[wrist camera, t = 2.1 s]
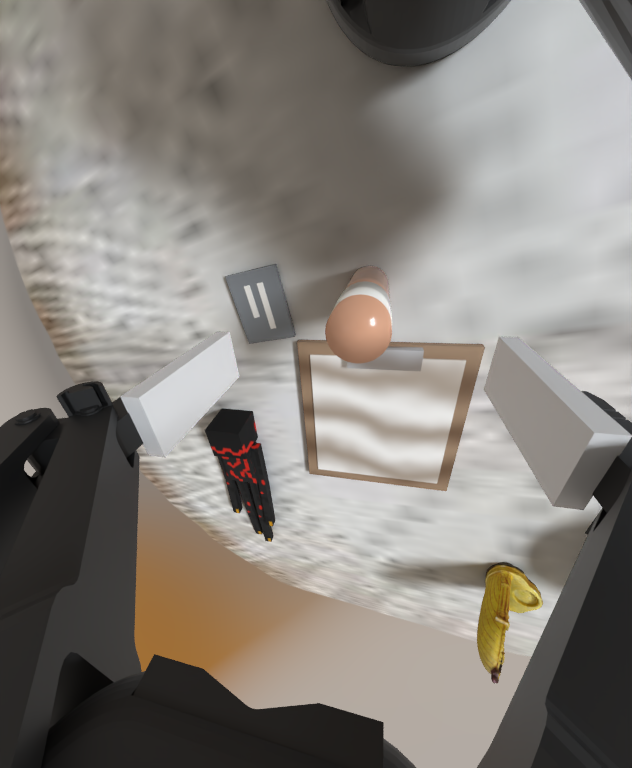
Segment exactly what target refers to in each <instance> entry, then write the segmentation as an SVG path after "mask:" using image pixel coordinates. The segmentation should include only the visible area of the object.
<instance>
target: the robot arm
mask: <svg viewBox="0 0 632 768" xmlns="http://www.w3.org/2000/svg"><path fill="white" fill-rule="evenodd" d="M510 1H511V0H327V2H328V5H329V7H330V9H331V11H332V14H333V15H334V17H335V19H336V21H337V23H338V24H339V26H340V27H341V29H342V30H343V32H344V33H345V34H346V36H347V37H348V38H349V39H350V40H351V41H352V43H353V44H354V45H355V46H357V47H358V48H359V49H360V50H361V51H363V52H364V53H365V54H367V55H368V56H370V57H372V58H374V59H376V60H378V61H380V62H383V63H386V64H390V65H395V66H416V65H422V64H426V63H430V62H433V61H436V60H438V59H441V58H443V57H445V56H447V55H449V54H451V53H453V52H455V51H456V50H458V49H460V48H461V47H463V46H464V45H466V44H467V43H468V42H470V41H471V40H472V39H474V38H475V37H476V36H477V35H479V34H480V33H481V32H482V31H483V30H484V29H485V28H486V27H487V26H489V24H490V23H491V22H492V21H493V20H494V19H495V18H496V17H497V16H498V15H499V14H500V13H501V12H502V11H503V9H504V8H505V7H506V6H507V5H508V4H509V2H510ZM579 1H580V3H581V4H582V6H583V7H584V9H585V10H586V12H587V13H588V15H589V16H590V18H591V19H592V21H593V22H594V24H595V25H596V27H597V28H598V30H599V31H600V33H601V34H602V36H603V37H604V39H605V40H606V42H607V43H608V45H609V46H610V48H611V49H612V51H613V52H614V54H615V56H616V57H617V59H618V60H619V62H620V63H621V65H622V66H623V68H624V69H625V71H626V72H627V74H628V75H629V77H630V78H631V80H632V0H579ZM239 377H240V376H239V372H238V367H237V363H236V358H235V354H234V349H233V345H232V340H231V336H230V332H216V333H214V334H213V335H211V336H210V337H208V338H207V339H205V340H204V341H202V342H201V343H199V344H198V345H196V346H195V347H193V348H192V349H190V350H189V351H187V352H186V353H184V354H183V355H181V356H180V357H178V358H177V359H175V360H174V361H172V362H171V363H169V364H168V365H166V366H165V367H163V368H162V369H160V370H159V371H157V372H156V373H155V374H153V375H152V376H150V377H149V378H147V379H146V380H144V381H143V382H141V383H140V384H138V385H137V386H135V387H134V388H132V389H131V390H129V391H128V392H126V393H125V394H123V395H122V396H120V398H118V399H117V400H115V401H114V402H111V400H110V398H109V396H108V394H107V392H106V390H105V388H104V386H103V384H102V383H101V382H87V383H82V384H78V385H75V386H73V387H70V388H68V389H66V390H64V391H63V392H61V393H59V394H58V395H57V398H58V400H59V402H60V403H61V405H62V407H63V408H64V410H65V411H66V413H67V415H68V416H69V417H68V418H62V419H57V418H56V416H55V415H54V414H53V412H52V410H51V409H49V408H39V409H34V410H32V409H31V410H28V411H26V412H22V413H20V414H18V415H17V416H15V417H13V418H12V419H10V420H8V421H7V422H6V423H4V424H3V425H2V426H1V427H0V768H416V767H415V766H414V765H413V764H412V763H411V762H410V761H409V760H408V759H407V758H406V757H405V756H404V755H403V754H402V753H401V752H400V751H399V750H398V749H397V748H395V747H394V746H393V745H391V744H390V743H389V742H387V741H386V740H385V739H384V738H383V722H381V721H377V720H374V719H371V718H367V717H363V716H360V715H357V714H354V713H350V712H347V711H344V710H340V709H337V708H333V707H330V706H326V705H323V704H320V703H317V704H308V705H297V706H287V707H278V708H267V709H252V708H250V707H248V706H247V705H245V704H244V703H243V702H242V701H241V700H239V699H238V698H237V697H236V696H235V695H233V694H232V693H231V692H230V691H229V690H228V689H226V688H225V687H224V686H223V685H222V684H220V683H219V682H218V681H217V680H216V679H214V678H213V677H212V676H211V675H209V673H207V672H206V671H205V670H204V669H202V668H199V667H195V666H191V665H188V664H185V663H182V662H178V661H175V660H172V659H168V658H165V657H162V656H158V655H154V656H153V658H152V660H151V662H150V663H149V666H148V667H147V669H146V671H144V672H141V665H140V661H139V658H138V655H137V651H136V648H135V642H134V625H135V624H134V623H135V590H136V556H137V553H136V552H137V523H138V488H139V455H138V453H137V451H136V450H137V449H138V448H139V447H140V446H141V445H142V444H143V445H144V447H145V449H146V451H147V453H148V455H150V456H158V457H166V456H167V455H168V454H169V453H170V452H171V451H172V449H173V448H174V447H175V446H176V445H177V444H178V443H179V442H180V441H181V440H182V439H183V437H184V436H185V435H186V434H187V433H188V432H189V431H190V430H191V429H192V428H193V427H194V426H195V424H196V423H197V422H198V421H199V420H200V419H201V418H202V417H203V416H204V415H205V414H206V412H207V411H208V410H209V409H210V408H211V407H212V406H213V405H214V404H215V403H216V402H217V401H218V399H219V398H220V397H221V396H222V395H223V394H224V393H225V392H226V391H227V390H228V389H229V387H230V386H231V385H232V384H233V383H234V382H235V381H236V380H237V379H238V378H239ZM484 391H485V392H486V394H487V396H488V397H489V399H490V401H491V403H492V404H493V406H494V408H495V409H496V411H497V413H498V414H499V416H500V418H501V419H502V421H503V423H504V424H505V426H506V428H507V430H508V431H509V433H510V435H511V436H512V438H513V440H514V441H515V443H516V445H517V446H518V448H519V450H520V451H521V453H522V455H523V457H524V458H525V460H526V462H527V463H528V465H529V467H530V468H531V470H532V472H533V473H534V475H535V477H536V479H537V480H538V482H539V484H540V485H541V487H542V489H543V490H544V492H545V494H546V495H547V497H548V499H549V500H550V502H551V504H552V506H556V507H564V508H572V509H580V510H584V509H585V507H586V506H587V504H588V502H589V501H590V499H591V498H592V496H594V497H595V498H596V499H597V501H598V502H599V503H600V505H601V506H602V507H603V508H602V510H601V511H600V512H599V514H598V515H597V517H596V518H595V519H594V521H593V522H592V524H591V525H590V526H589V528H588V529H587V531H586V532H585V533H586V534H588V536H587V538H586V541H585V543H584V545H583V547H582V549H581V551H580V554H579V556H578V558H577V560H576V562H575V564H574V566H573V569H572V571H571V573H570V575H569V577H568V579H567V582H566V584H565V586H564V588H563V590H562V592H561V595H560V597H559V599H558V601H557V603H556V605H555V608H554V610H553V612H552V614H551V616H550V618H549V620H548V623H547V625H546V627H545V629H544V631H543V633H542V636H541V638H540V640H539V642H538V644H537V646H536V649H535V651H534V653H533V655H532V657H531V659H530V662H529V664H528V666H527V668H526V670H525V672H524V675H523V677H522V679H521V681H520V683H519V685H518V688H517V690H516V692H515V694H514V696H513V698H512V701H511V703H510V705H509V707H508V709H507V711H506V713H505V716H504V718H503V720H502V722H501V724H500V726H499V729H498V731H497V733H496V735H495V737H494V739H493V741H492V743H491V745H490V747H489V749H488V751H487V752H486V754H485V756H484V757H483V759H482V760H481V762H480V764H479V765H478V767H477V768H632V423H631V422H630V421H629V420H626V418H625V417H624V416H623V415H621V414H620V413H619V412H616V410H615V409H614V408H613V407H612V406H610V405H609V404H608V403H607V402H605V401H604V400H603V399H601V398H599V397H597V396H595V395H593V394H591V393H589V392H586V391H580V390H579V389H578V388H577V387H576V386H574V385H573V384H572V383H571V382H570V381H569V380H568V379H566V378H565V377H564V376H563V375H562V374H561V373H559V372H558V371H557V370H556V369H555V368H554V367H553V366H551V365H550V364H549V363H548V362H547V361H546V360H544V359H543V358H542V357H541V356H540V355H539V354H537V353H536V352H535V351H534V350H533V349H532V348H531V347H529V346H528V345H527V344H526V343H525V342H524V341H522V340H521V339H520V338H519V337H499V338H498V342H497V345H496V349H495V352H494V356H493V359H492V363H491V366H490V370H489V373H488V377H487V380H486V384H485V387H484ZM26 460H28V462H29V463H30V464H31V466H32V467H33V468H34V469H35V471H36V472H35V473H34V474H33V476H32V477H30V476H29V475H27V473H26V472H25V471H24V464H25V462H26Z"/></svg>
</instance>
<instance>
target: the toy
mask: <svg viewBox="0 0 632 768" xmlns="http://www.w3.org/2000/svg"><path fill="white" fill-rule="evenodd" d="M205 432H206V434H207V437H208V440H209V443H210V445H211V448H212V451H213V453H214V456H218V459H219V462H220V465H221V467H222V470H223V473H224V476H225V479H226V483H227V487H228V491H229V495H230V499H231V503H232V507H233V511H234V512H236V513H240V512H241V510H242V508H243V507H242V503H241V498H240V494H239V490H240V493H241V496H242V499H243V501H244V504H245V507H246V510H247V512H248V514H249V517H250V519H251V522H252V524H253V527H254V529H255V532H256V533H257V534H262V533H263V534H264V537H265V540H266V541H270V542H272V539H273V532H272V528H271V526H273V525H274V522H275V515H274V509H273V503H272V497H271V491H270V485H269V480H268V475H267V471H266V466H265V461H264V456H263V452H262V447H261V443H256V440H257V438H258V436H257V431H256V426H255V421H254V416H253V411H244V410H233V409H221V410H220V412H219V413H218V414H217V415H216V417H215V418H214V419H213V421H212V422H211V423H210V424H209V426H208V427H207V428H206V429H205ZM248 482H249V484H250V487H251V490H250V487H249V484H248ZM238 488H239V489H238ZM251 491H252V494H251ZM252 495H253V497H252ZM253 498H254V500H253ZM254 502H255V503H254Z"/></svg>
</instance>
